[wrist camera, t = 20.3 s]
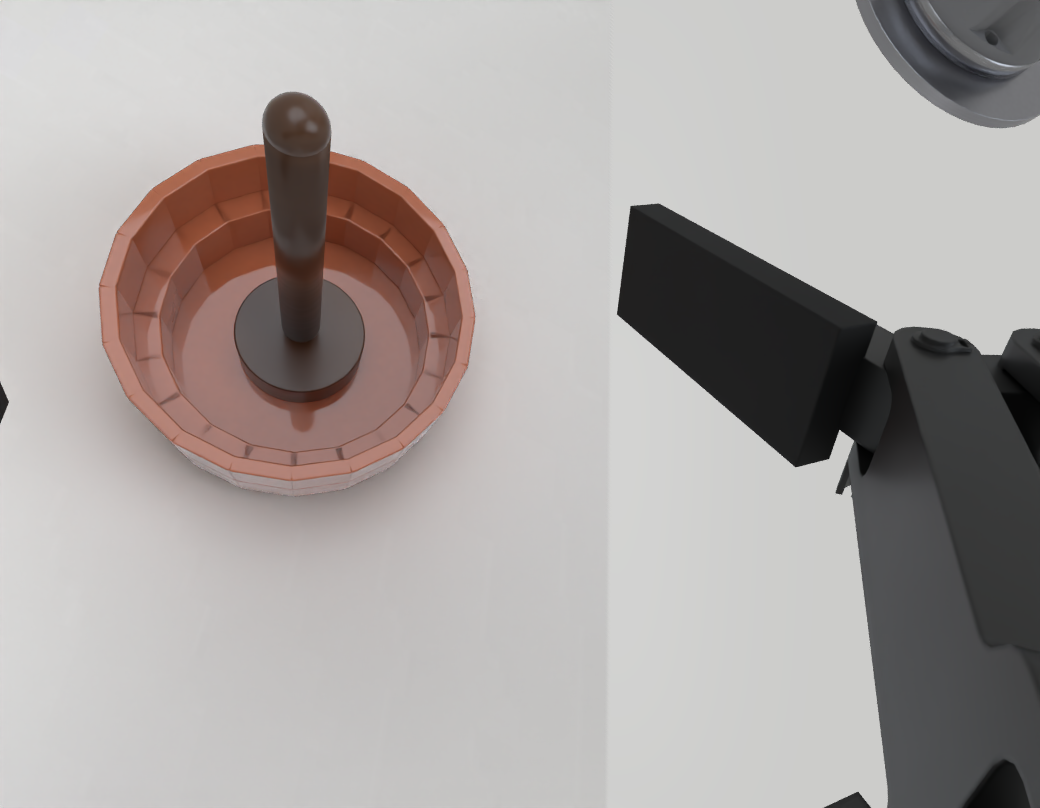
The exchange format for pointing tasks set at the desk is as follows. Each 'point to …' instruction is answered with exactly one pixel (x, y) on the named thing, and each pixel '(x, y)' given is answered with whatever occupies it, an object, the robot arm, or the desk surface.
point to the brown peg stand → (298, 268)
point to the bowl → (243, 267)
